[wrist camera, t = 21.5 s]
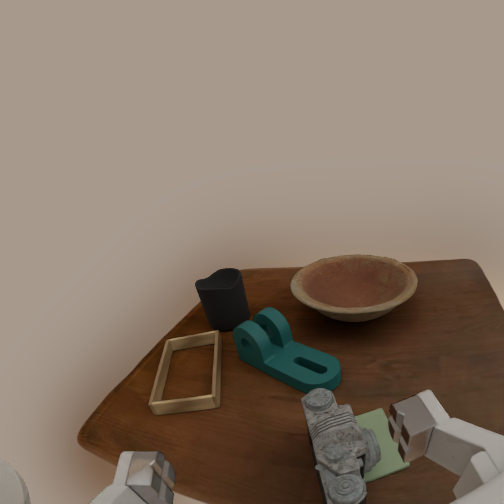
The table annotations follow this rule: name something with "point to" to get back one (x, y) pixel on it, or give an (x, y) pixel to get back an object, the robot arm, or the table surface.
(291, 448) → the table surface
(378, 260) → the bowl
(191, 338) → the rectangular wooden frame
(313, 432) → the camera
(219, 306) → the pen holder
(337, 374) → the bracket
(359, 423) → the mat
